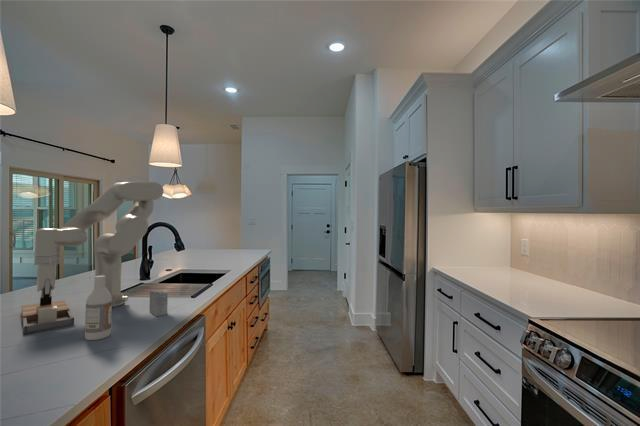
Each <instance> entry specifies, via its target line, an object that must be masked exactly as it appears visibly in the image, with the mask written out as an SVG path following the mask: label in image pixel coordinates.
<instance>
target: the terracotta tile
mask: <svg viewBox="0 0 640 426" xmlns="http://www.w3.org/2000/svg"><path fill="white" fill-rule="evenodd" d="M50 306H55V305H54V304H50V305H43V306H36V313H37V315H38V308H43V307H50Z"/></svg>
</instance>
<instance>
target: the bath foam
mask: <svg viewBox="0 0 640 426" xmlns="http://www.w3.org/2000/svg"><path fill="white" fill-rule="evenodd" d="M93 286H94V288H93V289H92V290H91V291H90V293H89V294H88V296H87V297H86V302H85V316H84V317H85V321H84V323H85V324H84V340H87V341H98V340H99V341H100V340H103V339H105V338H108V337H109V336H111V332H112V311H113V309H112V308H113V307H112V297H111V294H110V292H109V291H108V290H107V288H106V287H105V276H104V275H101V276H95V275H94V283H93Z"/></svg>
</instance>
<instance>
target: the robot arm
mask: <svg viewBox="0 0 640 426" xmlns="http://www.w3.org/2000/svg"><path fill="white" fill-rule="evenodd" d="M164 191H165V190H164V187H163V186H162V185H161V184H160V183H158V182H156V181H123V182H122V181H121V182H116V183H114V184H112V185H110V186H109V187H108V188H107V189H106V190H105V191H103V193H101V194H100V195H99V196H98V197H97V198H96V199H95V200H93V202H91V203H90V204H89V205H88V206H86V207H85V208H83V209H82V210H81V211H80V212H78V213H77V214H75V215H74V216H72V217H71V218H70V219H68V220H67V222H65V224H63V225H62V226H61V227H59V228H56V227H54V228H52V227H50V228H49V227H43V228H38V229H36V231H35V239H34V240H35V241H34V242H35V244H34V262H33V264H34V265H35V266H37V270H36V291H37V292H40V293H41V294H40V299H39V304H40V306H43V305H50V304H51V302H53V300H52V299H53V298H52V291H53V290H55V287H56V286H55V285H56V276H57V275H56V274H57V265H59V264H61V254H62V252H61V251H62V246H63V247H79V246H83V244H85V243H86V242H87V240H88V234H87V230H89V228H91V227H92V226H93V225H95V224H97V223H100V222H103V221H104V220H107V219H108V218H110V217H111V216H112V215H113V214H115V212H116V211H117V210H118V209H119V208H120V207H121V206H122V205H123V204H124V203H125V202H132V201H133V202H134V203H133V205H132V206H131V208H130V209H129V210H127V212H126V213H124V215H122V216H121V217H120V218H119V220H117V222H116V223H115V228H114V229H115V231H116V232H115V233H103V234H101V235H99V236H98V237H97V238H96V240H95V242H94V245H93V246H94V247H93V249H94V256H95V270H94V271H95V273H94V274H95V275H94V277H95V276H101V275H104V276H105V287H106V288H107V290H108V291H109V292H110V294H111V297H112V308H115V307H119V306H121V305H123V304H124V303H125V302H128V299H129V295H128V296H127V295H125V296H124V293H123V292H121V290H122V266H123V265H122V257H123V256H124V255H127V254H129V252H131V250H132V249H133V248H134V247H135V246H136V245H137V244H138V243H139V242H140V241H141V239H143V237H144V236H145V235H146V233H147V232H148V229H149V223H148V221H147V219H149V218H150V216H151V215H152V214H153V210H154V200H155V201H156V200H158V199H159V200H160V198H162V196H163V194H164Z"/></svg>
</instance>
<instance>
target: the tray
mask: <svg viewBox="0 0 640 426" xmlns="http://www.w3.org/2000/svg"><path fill="white" fill-rule="evenodd" d="M74 325H75V316H74V315H73V314H72V312H71V310H69V311H67V316H62V317H57V319H56V321H51V322H45V323H39V324H38V321H32V322H27V319H26V317H25V318H23V323H22V327H23V328H22V329H23V335H28V334H32V333H33V334H34V333H40V332H45V331H50V330H55V329H60V328H65V327H70V326H71V327H72V326H74Z"/></svg>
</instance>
